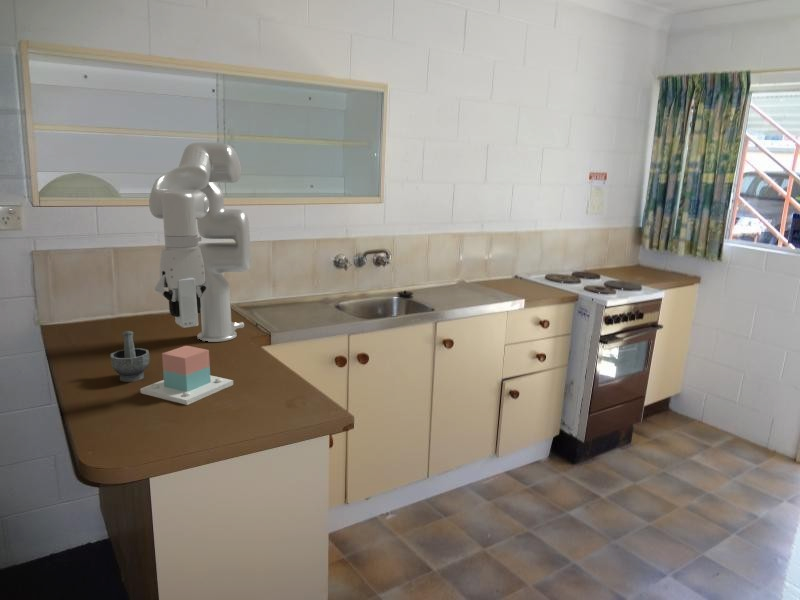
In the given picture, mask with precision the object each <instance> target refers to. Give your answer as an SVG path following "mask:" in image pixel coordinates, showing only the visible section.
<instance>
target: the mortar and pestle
mask: <svg viewBox="0 0 800 600" xmlns="http://www.w3.org/2000/svg"><path fill="white" fill-rule="evenodd" d="M122 337H123V349H120V350H116V351H114V352H112V353H110V363H111V367H112V368H113V370H114V371H115V372H116V373H117V374H118V375H119V381H121V382H125V383H127V382H129V383H131V382H136V381H141V380H143V379H144V378H145V374H144V371H146V370H147V369H148V366H149V364H150V351H149V349H146V348H139V347H137V348H135V343H134V338H133V337H134V332H133V331H132V330H126V331H124V332H122Z"/></svg>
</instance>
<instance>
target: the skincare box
mask: <svg viewBox="0 0 800 600" xmlns="http://www.w3.org/2000/svg"><path fill="white" fill-rule="evenodd" d="M177 301H178V302H179V312H180V316H179V317H175V316H174V318H175V319H174V322H175V324H177V326H180V327H181V328H191V327H193V328H194V327H198V326H199V313H198V312H197V300H196V289H195V279H183V280H178V294H177Z"/></svg>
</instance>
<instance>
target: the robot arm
mask: <svg viewBox="0 0 800 600" xmlns="http://www.w3.org/2000/svg"><path fill="white" fill-rule="evenodd" d="M241 176H242V164H241V162H240V159H239V156H238V154H237V152H236V150H235V149H234V148H233V147H232V146H231V145H230V144H228V143H225V142H194V143H190V144H188V145H187V146H186V147H185V148H184V150H183V152H182V155H181V157H180V161H179V165H178V167H175V168H173V169H172V170H169V171H168V172H166V173H164V174H162V175H160V176H159V177H158V178H156V179H155V182H154V184H153V186H152V188H151V190H150V194H149V199H148V208H149V211H150V213H151V215H152V216H153V217H154V218H157V219H158V220H163V221H162V222H163V231H164V232H163V233H164V248H161V252H160V259H159V281H158V282H157V284H156V285H155V287H154V291H156V292H157V293H159V294H160V295H162V296H163V297H164V298H165V299H166V300H168V307H169V314H170V315H171V316H173V317H174V318H175V317H179V316H180V312H179V302H178V301H177V294H178V280H183V279H195V289H196V300H197V312H198V314H200V320H201V331H200V332H199V333H198V334H197V336H196V338H197V340H199V339H200V340H202V341H201V342H205V341H208V342H207V343H220V342H221V343H222V342H227V341H230V340H233V339H235V338H236V337H237V335H238V333H237V332H236V331H237V329H243V328H245V323H244V322H243V321H240V322H235V321H234V322H233V321H232V311H231V293H230V291H231V290H230V288H231V287H230V283H229V282H228V280H227V279H226V277H224V275H223V274H222V273H243V272H247V271H248V270H249V269H250V267H251V258H252V257H251V239H250V236H251V235H250V222H249V217H248V215H247V213H246V212H245V211H244V210H242V209H234V208H233V209H232V208H230V209H229V208H228V209H227V208H225V201H224V192H223V191H222V189H221V188H220V186H219V185H218V183H219V184H224V183H225V184H233V183H234V184H235V183H236V182H239V180H240V178H241ZM197 230H198V231H197ZM197 232H198V234H199V236H198V234H197ZM202 238H203V239H209V240H233V241H234V242H207V243H201V244H200V245H198V244H199V242H201V241H202ZM165 288H168V289H167V290H166V289H165ZM200 340H199V341H200Z"/></svg>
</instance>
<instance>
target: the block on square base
mask: <svg viewBox="0 0 800 600" xmlns="http://www.w3.org/2000/svg"><path fill="white" fill-rule="evenodd" d="M161 358H162V373H163V380H160V381H157V382H154V383H152V384H149V385H147V386H144V387H143V386H142V388H139V389H140V394H143V395H147V396H151V397H154V398H157V399H162V400H165V401H170V402H173V403H178V404H182V405H186V406H188V405H190V404H192V403H195V402H197V401H199V400H202V399H203V398H206V397H209V396H211V395H213V394H215V393H218V392H220V391H222V390H225V389H226V388H229V387H232V386H233V385H234V380H233V379H230V378H229V379H228V378H224V377H219V376H216V375H215V376H214V375H211V366H210V364H211V363H210V350H209V349H206V348H201V347H200V348H199V347H195V346H190V345H183V346H180V347H178V348H174V349H172V350H169V351H165V352H162V353H161Z"/></svg>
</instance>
